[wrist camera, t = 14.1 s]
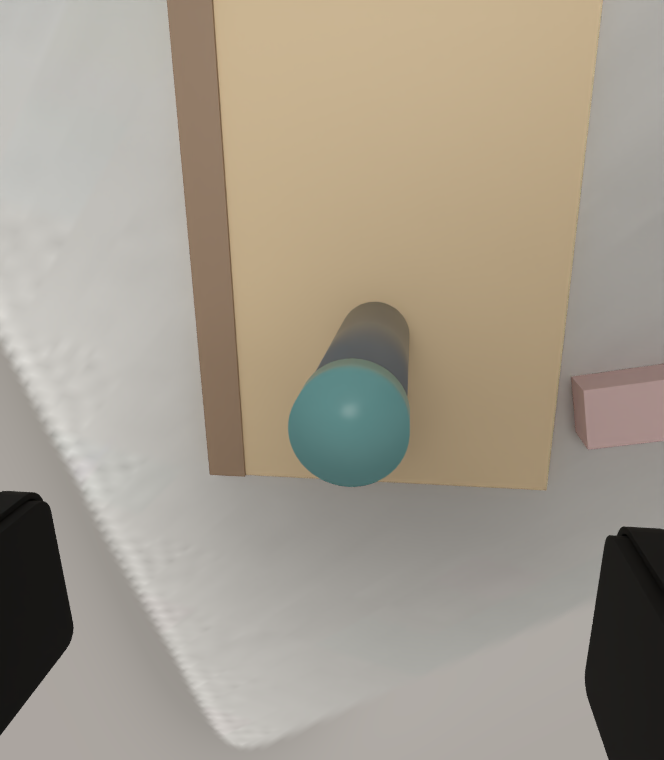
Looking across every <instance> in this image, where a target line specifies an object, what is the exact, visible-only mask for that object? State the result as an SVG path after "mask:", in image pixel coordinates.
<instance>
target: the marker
mask: <svg viewBox="0 0 664 760" xmlns="http://www.w3.org/2000/svg"><path fill="white" fill-rule="evenodd" d="M408 364H409V328H408V325H407V322H406V320H405V318H404V317H403V315H402V314H401V313H400V312H399V311H398V310H397V309H395V308H394V307H392V306H390V305H388V304H385V303H382V302H368V303H364V304H361V305H359V306H357V307H355V308H354V309H353V310H352V311H350V313H349V314H348V315H347V316H346V318H345V319H344V321H343V323H342V325H341V327H340V328H339V330H338V332H337V334H336V336H335V337H334V339H333V341H332V343H331V345H330V346H329V348H328V350H327V352H326V354H325V355H324V357H323V359H322V361H321V363H320V364H319V366H318V368H317V370H316V372H314V373H313V374H312V376H311V377H310V378H309V379H308V380H307V382H306V383H305V385H304V387H303V388H302V390H301V392H300V394H299V395H298V397H297V399H296V401H295V402H294V404H293V407H292V409H291V412H290V415H289V421H288V434H289V440H290V444H291V446H292V449H293V451H294V453H295V455H296V457H297V458H298V459H299V461H300V462H301V464H302V465H303V466H304V467H305V468H306V469H307V470H308V471H310V472H311V473H312V474H313V475H315V476H317V477H318V478H320V479H322V480H324V481H326V482H329V483H332V484H335V485H339V486H347V487H357V486H364V485H368V484H372V483H375V482H377V481H379V480H381V479H383V478H385V477H386V476H388V475H389V474H390V473H391V472H392V471H394V470H395V469H396V468H397V466H398V465H399V464H400V462H401V461H402V459H403V457H404V456H405V453H406V451H407V448H408V444H409V437H410V406H409V401H408V398H407V395H408Z"/></svg>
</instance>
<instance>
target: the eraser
mask: <svg viewBox="0 0 664 760" xmlns="http://www.w3.org/2000/svg"><path fill="white" fill-rule="evenodd" d="M571 381H572V393H573V405H574V417H575V430H576V433H577V434H578V436H579V437H580V439H581V440H582V442H583V443H584V445H585V446H586V447H587V449H588V450H590V449H598V448H607V447H615V446H624V445H632V444H640V443H649V442H657V441H664V364H658V365H651V366H644V367H637V368H629V369H622V370H615V371H608V372H601V373H594V374H587V375H579V376H572V377H571Z"/></svg>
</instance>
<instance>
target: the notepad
mask: <svg viewBox="0 0 664 760" xmlns="http://www.w3.org/2000/svg"><path fill="white" fill-rule="evenodd" d="M602 3H603V0H167V7H168V18H169V29H170V40H171V52H172V63H173V74H174V85H175V96H176V107H177V118H178V129H179V140H180V151H181V162H182V173H183V184H184V195H185V206H186V217H187V228H188V239H189V250H190V261H191V272H192V283H193V294H194V305H195V316H196V327H197V338H198V350H199V361H200V372H201V383H202V394H203V405H204V416H205V427H206V438H207V449H208V460H209V471H210V475H225V476H244V477H245V475H259V476H278V477H298V478H317V479H320V478H318V477H317V476H315V475H313V474H312V473H311V472H310V471H308V470H307V469H306V468H305V467H304V466H303V465H302V464H301V462H300V461H299V459H298V458H297V457H296V455H295V453H294V451H293V449H292V446H291V444H290V440H289V434H288V421H289V415H290V412H291V409H292V407H293V404H294V402H295V401H296V399H297V397H298V395H299V394H300V392H301V390H302V388H303V387H304V385H305V383H306V382H307V380H308V379H309V378H310V377H311V376H312V374H313V373H314V372H316V370H317V368H318V366H319V364H320V363H321V361H322V359H323V357H324V355H325V354H326V352H327V350H328V348H329V346H330V345H331V343H332V341H333V339H334V337H335V336H336V334H337V332H338V330H339V328H340V327H341V325H342V323H343V321H344V319H345V318H346V316H347V315H348V314H349V313H350V311H352V310H353V309H354V308H355V307H357V306H359V305H361V304H364V303H368V302H382V303H385V304H388V305H390V306H392V307H394V308H395V309H397V310H398V311H399V312H400V313H401V314H402V315H403V317H404V318H405V320H406V322H407V325H408V328H409V364H408V395H407V398H408V401H409V406H410V437H409V444H408V448H407V451H406V453H405V456H404V457H403V459H402V461H401V462H400V464H399V465H398V466H397V468H396V469H395V470H394V471H392V472H391V473H390V474H389V475H388V476H386V477H385V478H383V479H381V480H379V481H377V482H394V483H414V484H433V485H453V486H472V487H491V488H511V489H530V490H546V489H547V481H548V472H549V463H550V455H551V446H552V437H553V429H554V420H555V411H556V403H557V394H558V385H559V376H560V368H561V359H562V350H563V342H564V333H565V324H566V316H567V307H568V298H569V290H570V281H571V272H572V264H573V255H574V246H575V237H576V229H577V220H578V211H579V203H580V194H581V185H582V177H583V168H584V159H585V151H586V142H587V133H588V125H589V116H590V107H591V98H592V90H593V81H594V72H595V64H596V55H597V46H598V38H599V29H600V20H601V12H602Z"/></svg>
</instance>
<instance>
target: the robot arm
mask: <svg viewBox="0 0 664 760" xmlns="http://www.w3.org/2000/svg"><path fill="white" fill-rule="evenodd" d="M72 635H73V621H72V615H71V611H70V606H69V600H68V595H67V590H66V585H65V580H64V575H63V570H62V565H61V559H60V554H59V549H58V544H57V539H56V534H55V529H54V524H53V519H52V514H51V510H50V506H49V505H48V504H47V503H46V502H44V501H43V499H42V498H41V497H40V495H39V494H37V493H33V492H15V491H2V492H0V735H1V734H2V732H3V731H4V730H5V728H6V727H7V726H8V725H9V723H10V722H11V721H12V719H13V718H14V717H15V715H16V714H17V713H18V712H19V710H20V709H21V708H22V706H23V705H24V704H25V702H26V701H27V700H28V698H29V697H30V696H31V694H32V693H33V692H34V691H35V689H36V688H37V687H38V685H39V684H40V683H41V681H42V680H43V679H44V678H45V676H46V675H47V673H48V672H49V671H50V670H51V668H52V667H53V666H54V664H55V663H56V662H57V660H58V659H59V658H60V657H61V655H62V654H63V652H64V651H65V650H66V649H67V647H68V645H69V644H70V641H71V639H72ZM585 686H586V693H587V696H588V700H589V703H590V706H591V709H592V712H593V715H594V718H595V721H596V724H597V727H598V730H599V732H600V736H601V738H602V741H603V744H604V747H605V750H606V753H607V756H608V759H609V760H664V530H663V529H656V528H639V527H622V528H620V530H619V532H618V534H617V536H613V535H609V536H608V537H607V538H606V541H605V545H604V552H603V558H602V565H601V571H600V578H599V584H598V591H597V598H596V604H595V611H594V617H593V624H592V630H591V637H590V644H589V650H588V656H587V663H586V669H585Z"/></svg>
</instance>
